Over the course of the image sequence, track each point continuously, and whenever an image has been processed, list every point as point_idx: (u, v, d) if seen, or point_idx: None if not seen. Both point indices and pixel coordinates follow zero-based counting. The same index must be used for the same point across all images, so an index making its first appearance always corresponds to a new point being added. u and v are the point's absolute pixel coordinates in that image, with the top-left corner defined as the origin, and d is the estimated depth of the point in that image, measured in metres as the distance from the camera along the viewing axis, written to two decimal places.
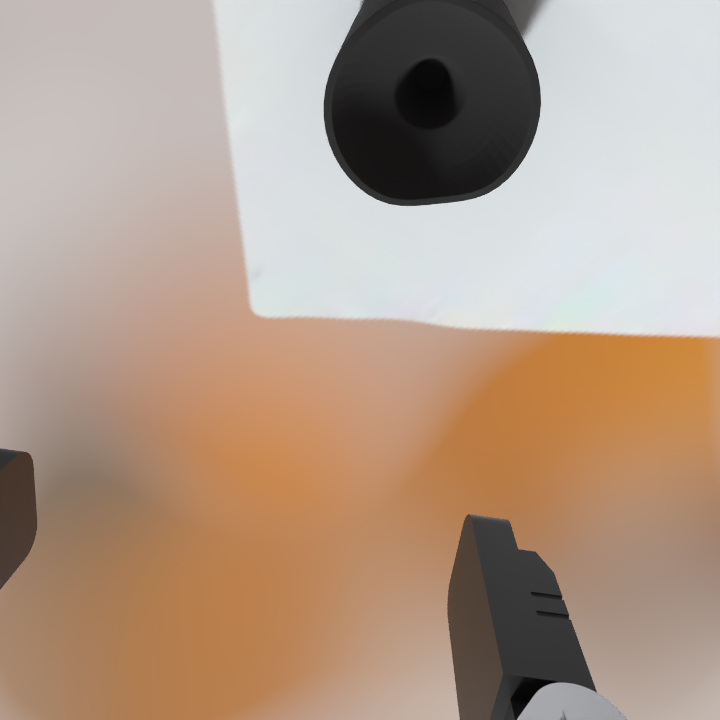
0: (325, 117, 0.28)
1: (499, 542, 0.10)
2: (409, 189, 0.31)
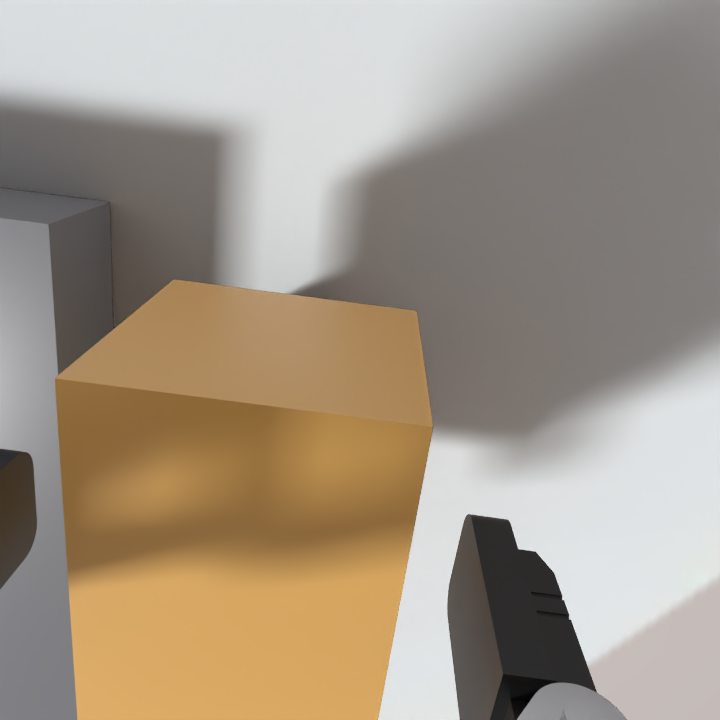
0: None
1: (499, 542, 0.10)
2: None
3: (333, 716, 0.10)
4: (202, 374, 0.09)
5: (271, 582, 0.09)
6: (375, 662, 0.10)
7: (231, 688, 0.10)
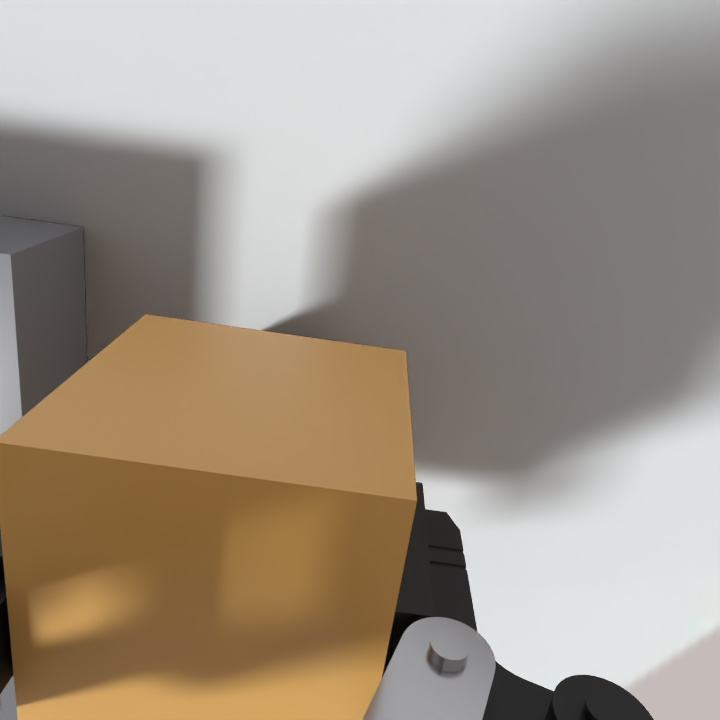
0: None
1: None
2: None
3: None
4: (162, 433, 0.08)
5: (236, 663, 0.09)
6: None
7: None
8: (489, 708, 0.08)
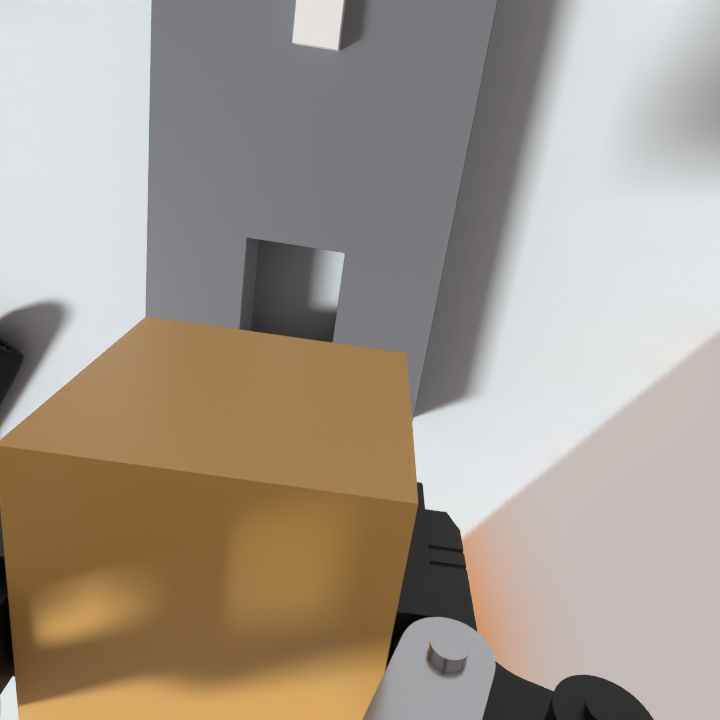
0: None
1: None
2: None
3: None
4: (164, 436, 0.08)
5: (238, 666, 0.09)
6: None
7: None
8: (489, 708, 0.08)
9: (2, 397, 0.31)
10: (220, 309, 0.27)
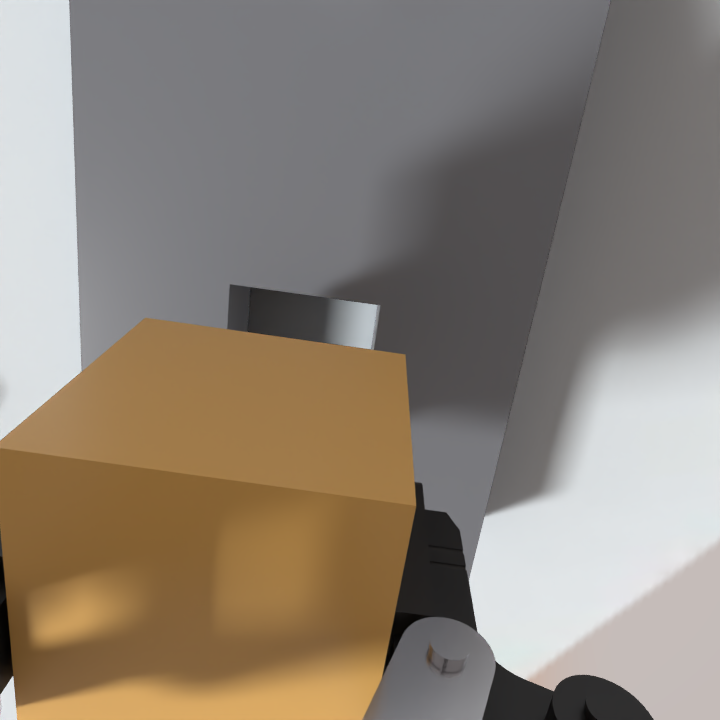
0: None
1: None
2: None
3: None
4: (162, 438, 0.08)
5: (236, 667, 0.09)
6: None
7: None
8: (489, 708, 0.08)
9: None
10: None
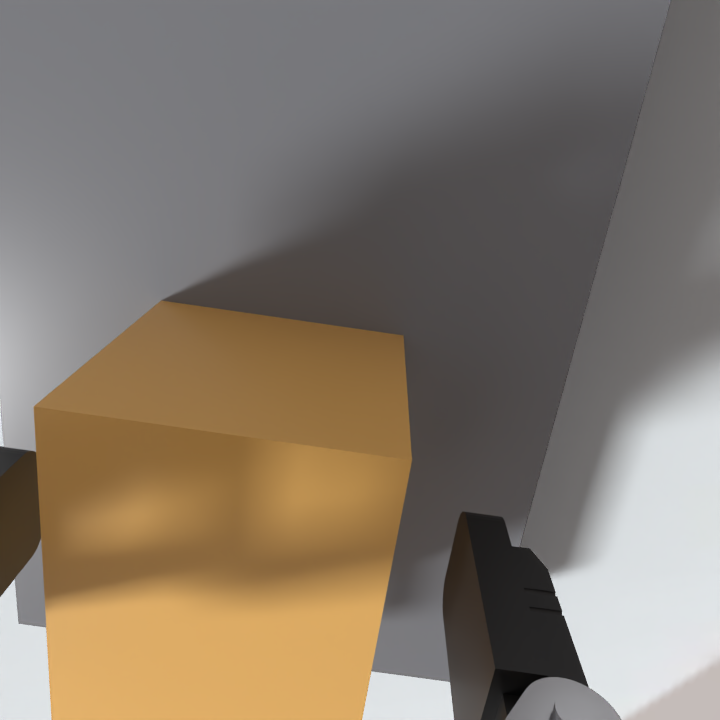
0: None
1: (493, 539, 0.10)
2: None
3: None
4: (183, 402, 0.09)
5: (249, 611, 0.09)
6: (353, 692, 0.10)
7: (208, 716, 0.10)
8: None
9: None
10: None
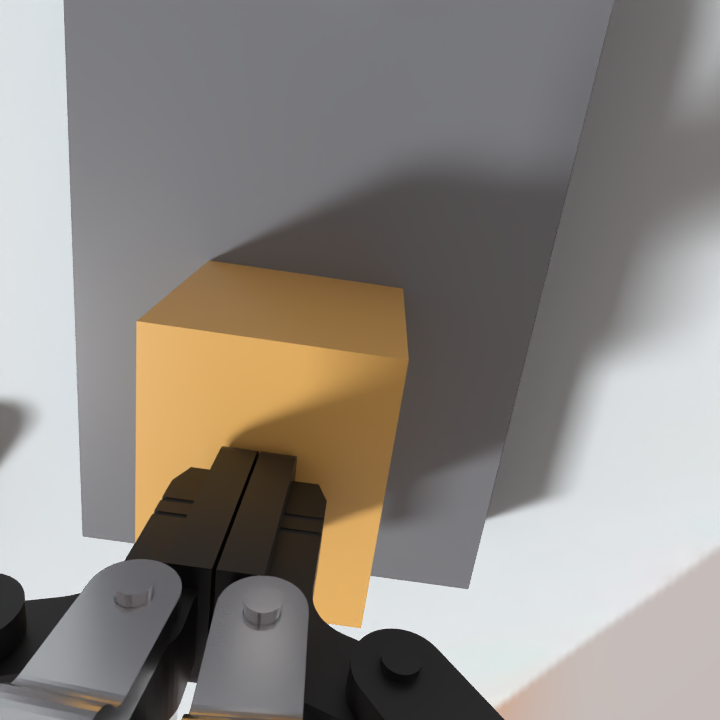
0: None
1: (275, 473, 0.11)
2: None
3: (332, 592, 0.14)
4: (240, 322, 0.12)
5: None
6: (365, 547, 0.13)
7: None
8: None
9: None
10: None
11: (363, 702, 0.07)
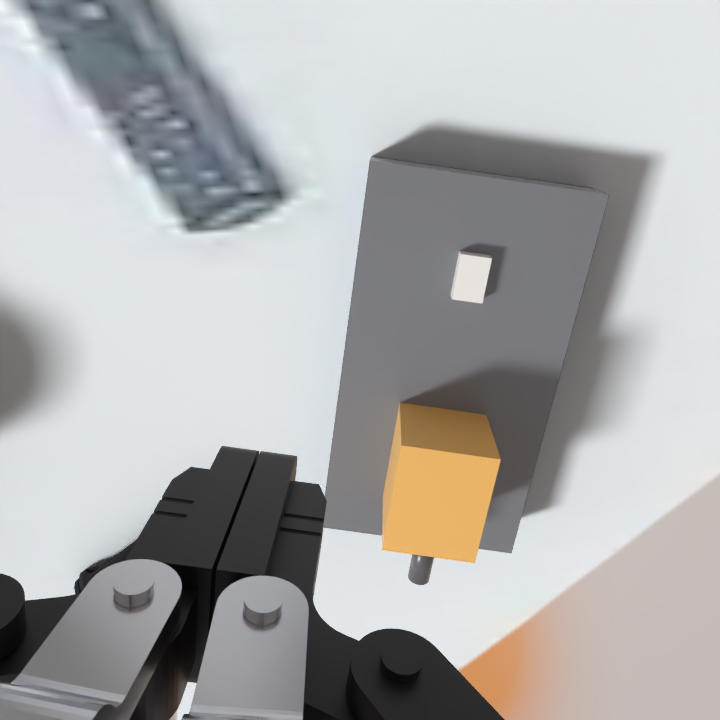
0: None
1: (275, 473, 0.11)
2: None
3: (464, 547, 0.34)
4: (435, 443, 0.32)
5: (450, 503, 0.33)
6: (479, 529, 0.33)
7: (433, 538, 0.33)
8: None
9: None
10: (383, 458, 0.38)
11: (363, 702, 0.07)
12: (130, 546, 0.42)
